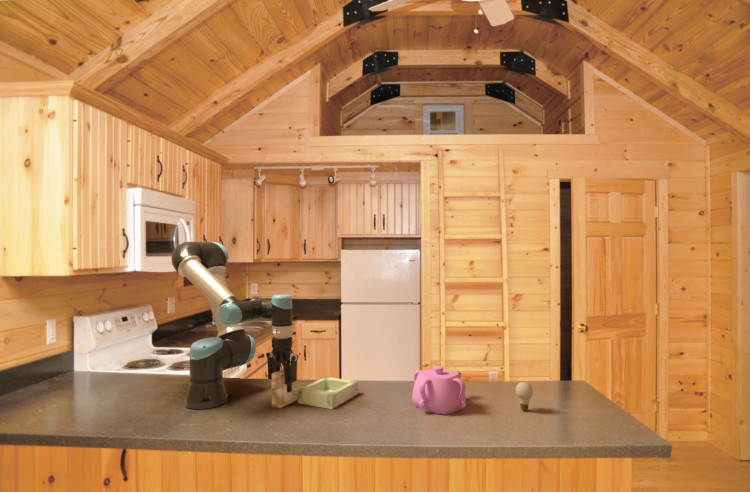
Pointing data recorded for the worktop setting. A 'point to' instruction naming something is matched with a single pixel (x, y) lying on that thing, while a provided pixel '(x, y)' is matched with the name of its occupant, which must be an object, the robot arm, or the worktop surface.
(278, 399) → the wooden stepped block
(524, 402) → the light bulb
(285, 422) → the worktop surface
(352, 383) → the well block
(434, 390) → the pink multi-handled pot
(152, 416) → the worktop surface
